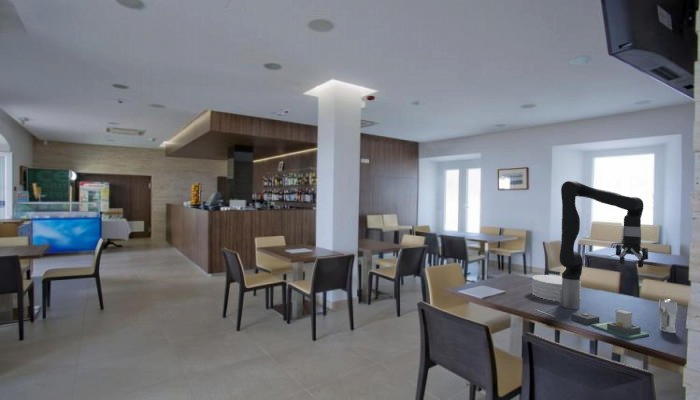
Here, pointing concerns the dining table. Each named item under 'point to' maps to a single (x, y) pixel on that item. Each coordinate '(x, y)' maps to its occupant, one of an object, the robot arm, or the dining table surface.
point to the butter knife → (544, 312)
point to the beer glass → (667, 315)
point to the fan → (585, 318)
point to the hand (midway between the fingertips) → (631, 265)
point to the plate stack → (547, 286)
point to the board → (621, 330)
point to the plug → (624, 319)
